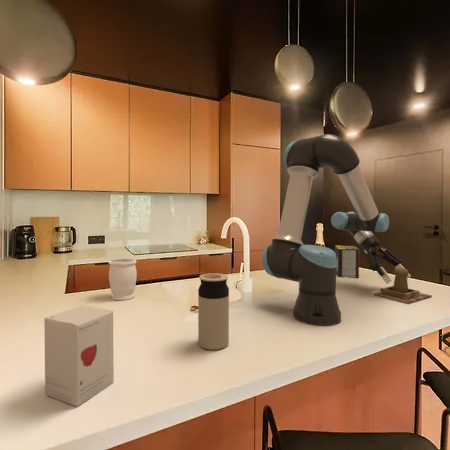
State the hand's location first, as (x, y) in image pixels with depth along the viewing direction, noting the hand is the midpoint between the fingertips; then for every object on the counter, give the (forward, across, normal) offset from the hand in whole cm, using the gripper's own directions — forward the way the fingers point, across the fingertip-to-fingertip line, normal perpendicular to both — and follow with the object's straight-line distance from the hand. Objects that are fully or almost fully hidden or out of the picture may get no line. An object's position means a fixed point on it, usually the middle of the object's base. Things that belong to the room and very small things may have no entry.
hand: (399, 280), depth 123 cm
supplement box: (+8, +119, -2) cm, 120 cm away
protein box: (-22, -17, -32) cm, 43 cm away
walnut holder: (+5, -2, -4) cm, 7 cm away
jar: (-33, +99, -44) cm, 113 cm away
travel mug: (+5, +87, -5) cm, 88 cm away
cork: (+5, 0, -4) cm, 6 cm away
